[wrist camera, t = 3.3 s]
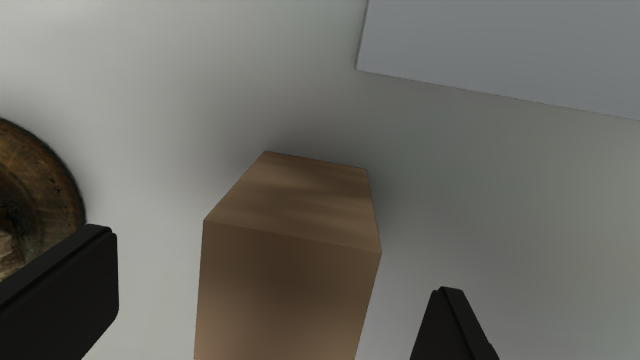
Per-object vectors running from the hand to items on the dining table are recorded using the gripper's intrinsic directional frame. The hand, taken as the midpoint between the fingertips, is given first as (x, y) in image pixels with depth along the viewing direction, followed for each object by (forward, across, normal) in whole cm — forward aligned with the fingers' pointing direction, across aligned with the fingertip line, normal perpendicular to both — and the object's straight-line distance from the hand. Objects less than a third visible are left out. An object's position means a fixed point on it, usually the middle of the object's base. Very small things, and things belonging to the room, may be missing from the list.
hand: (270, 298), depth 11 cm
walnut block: (+8, 0, 0) cm, 8 cm away
